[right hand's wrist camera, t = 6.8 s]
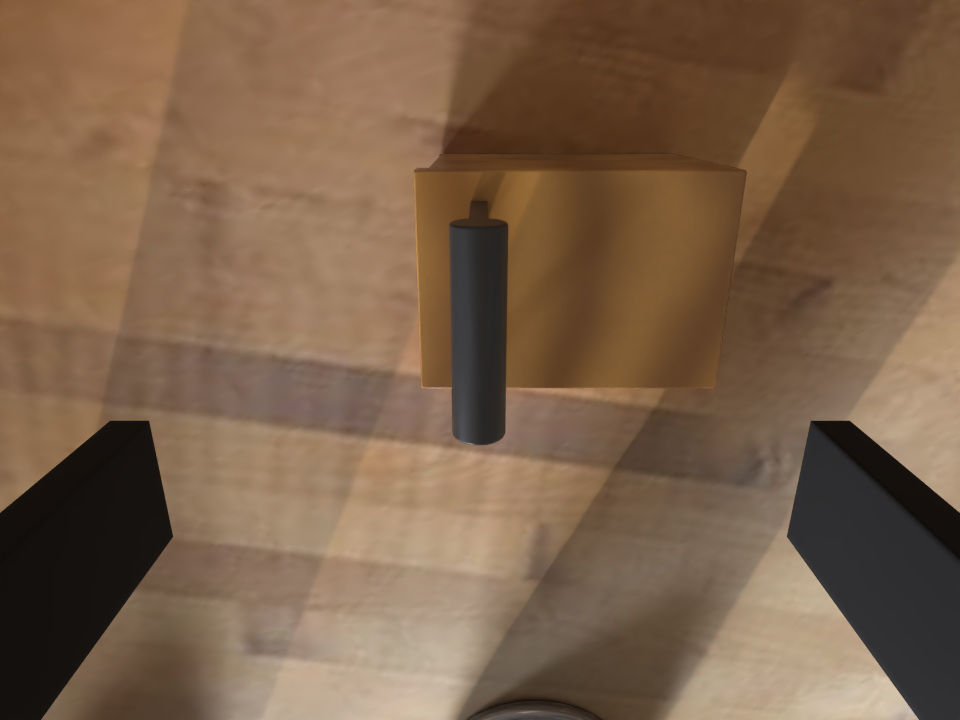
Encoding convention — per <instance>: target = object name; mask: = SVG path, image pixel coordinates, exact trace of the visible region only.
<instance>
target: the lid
mask: <svg viewBox="0 0 960 720" xmlns="http://www.w3.org/2000/svg"><path fill="white" fill-rule="evenodd" d="M746 173H747V172H746V170H742V169H738V168H417V169H415V170H414V199H415V227H416V255H417V282H418V310H419V337H420V365H421V387H422V388H452V431H453V435H454V437H455V438H456V439H457V440H458V441H460V442H463V443H466V444H470V445H488V444H492V443H495V442H497V441H499V440H501V439H502V438H503V436H504V434H505V412H506V388H715V387H716V380H717V373H718V366H719V359H720V352H721V345H722V338H723V332H724V325H725V318H726V311H727V304H728V297H729V290H730V283H731V276H732V269H733V263H734V256H735V249H736V242H737V235H738V228H739V221H740V214H741V207H742V200H743V194H744V187H745V180H746Z"/></svg>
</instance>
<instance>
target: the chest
mask: <svg viewBox="0 0 960 720" xmlns="http://www.w3.org/2000/svg"><path fill="white" fill-rule="evenodd" d="M430 168H733V167H729V166H724V165H720V164H715V163H711V162H706V161H702V160H697V159H693V158H688V157H684V156H681V155H677V154H440V155H439V158H438V159H437V160H436V161H435V162H434V163H433V164H432V165H431V167H430Z"/></svg>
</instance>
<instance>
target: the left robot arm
mask: <svg viewBox="0 0 960 720" xmlns="http://www.w3.org/2000/svg"><path fill="white" fill-rule="evenodd" d="M469 720H600V719H599V718H597V717H596V716H594V715H592V714H590V713H588V712H586V711H584V710H582V709H579V708H576V707H574V706H570V705H566V704H562V703H557V702H550V701H520V702H513V703H508V704H503V705H500V706H496V707H493V708H490V709H488V710H485V711H483V712H481V713H479V714H477V715H475V716H473V717H472V718H470V719H469Z"/></svg>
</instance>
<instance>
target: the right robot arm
mask: <svg viewBox="0 0 960 720" xmlns="http://www.w3.org/2000/svg"><path fill="white" fill-rule="evenodd" d="M172 537H173V534H172V529H171V524H170V520H169V515H168V510H167V505H166V500H165V495H164V491H163V486H162V481H161V476H160V471H159V467H158V462H157V457H156V452H155V447H154V443H153V438H152V433H151V428H150V423H149V421H110V422H108V423H107V424H106V425H105V426H104V427H102V428H101V429H100V430H99V431H98V432H96V433H95V434H94V435H93V436H92V437H90V438H89V439H88V440H87V441H86V442H84V443H83V444H82V445H81V446H80V447H78V448H77V449H76V450H75V451H74V452H72V453H71V454H70V455H69V456H68V457H67V458H65V459H64V460H63V461H62V462H61V463H59V464H58V465H57V466H56V467H55V468H53V469H52V470H51V471H50V472H49V473H47V474H46V475H45V476H44V477H43V478H41V479H40V480H39V481H38V482H37V483H35V484H34V485H33V486H32V487H31V488H29V489H28V490H27V491H26V492H25V493H24V494H22V495H21V496H20V497H19V498H18V499H16V500H15V501H14V502H13V503H12V504H10V505H9V506H8V507H7V508H6V509H4V510H3V511H2V512H1V513H0V720H41V719H42V717H43V716H44V715H45V713H46V712H47V711H48V709H49V708H50V706H51V705H52V704H53V702H54V701H55V699H56V698H57V697H58V695H59V694H60V693H61V691H62V690H63V688H64V687H65V686H66V684H67V683H68V681H69V680H70V679H71V677H72V676H73V675H74V673H75V672H76V670H77V669H78V668H79V666H80V665H81V663H82V662H83V661H84V659H85V658H86V657H87V655H88V654H89V652H90V651H91V650H92V648H93V647H94V645H95V644H96V643H97V641H98V640H99V639H100V637H101V636H102V634H103V633H104V632H105V630H106V629H107V627H108V626H109V625H110V623H111V622H112V621H113V619H114V618H115V616H116V615H117V614H118V612H119V611H120V609H121V608H122V607H123V605H124V604H125V603H126V601H127V600H128V598H129V597H130V596H131V594H132V593H133V591H134V590H135V589H136V587H137V586H138V585H139V583H140V582H141V580H142V579H143V578H144V576H145V575H146V573H147V572H148V571H149V569H150V568H151V566H152V565H153V564H154V562H155V561H156V560H157V558H158V557H159V555H160V554H161V553H162V551H163V550H164V548H165V547H166V546H167V544H168V543H169V542H170V540H171V539H172ZM787 537H788V539H789V540H790V542H791V543H792V544H793V546H794V547H795V548H796V550H797V551H798V553H799V554H800V555H801V557H802V558H803V560H804V561H805V562H806V564H807V565H808V566H809V568H810V569H811V571H812V572H813V573H814V575H815V576H816V578H817V579H818V580H819V582H820V583H821V585H822V586H823V587H824V589H825V590H826V591H827V593H828V594H829V596H830V597H831V598H832V600H833V601H834V603H835V604H836V605H837V607H838V608H839V609H840V611H841V612H842V614H843V615H844V616H845V618H846V619H847V621H848V622H849V623H850V625H851V626H852V627H853V629H854V630H855V632H856V633H857V634H858V636H859V637H860V639H861V640H862V641H863V643H864V644H865V645H866V647H867V648H868V650H869V651H870V652H871V654H872V655H873V657H874V658H875V659H876V661H877V662H878V663H879V665H880V666H881V668H882V669H883V670H884V672H885V673H886V675H887V676H888V677H889V679H890V680H891V681H892V683H893V684H894V686H895V687H896V688H897V690H898V691H899V693H900V694H901V695H902V697H903V698H904V699H905V701H906V702H907V704H908V705H909V706H910V708H911V709H912V711H913V712H914V713H915V715H916V716H917V717H918V719H919V720H960V513H959V512H958V511H957V510H956V509H954V508H953V507H952V506H951V505H950V504H948V503H947V502H946V501H945V500H944V499H942V498H941V497H940V496H939V495H938V494H936V493H935V492H934V491H933V490H932V489H931V488H929V487H928V486H927V485H926V484H925V483H923V482H922V481H921V480H920V479H919V478H917V477H916V476H915V475H914V474H913V473H911V472H910V471H909V470H908V469H907V468H905V467H904V466H903V465H902V464H901V463H899V462H898V461H897V460H896V459H895V458H893V457H892V456H891V455H890V454H889V453H888V452H886V451H885V450H884V449H883V448H882V447H880V446H879V445H878V444H877V443H876V442H874V441H873V440H872V439H871V438H870V437H868V436H867V435H866V434H865V433H864V432H862V431H861V430H860V429H859V428H858V427H856V426H855V425H854V424H853V423H852V422H850V421H811V423H810V428H809V433H808V438H807V443H806V447H805V452H804V457H803V462H802V467H801V471H800V476H799V481H798V486H797V491H796V495H795V500H794V505H793V510H792V515H791V520H790V524H789V529H788V534H787Z"/></svg>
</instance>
